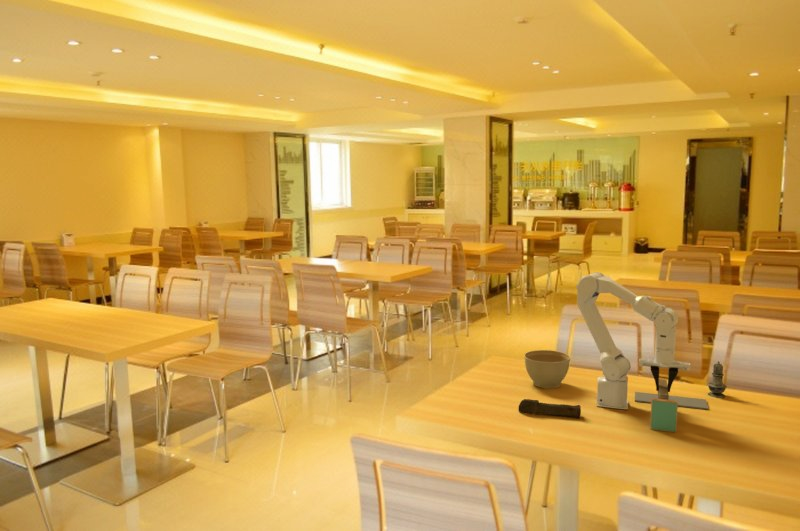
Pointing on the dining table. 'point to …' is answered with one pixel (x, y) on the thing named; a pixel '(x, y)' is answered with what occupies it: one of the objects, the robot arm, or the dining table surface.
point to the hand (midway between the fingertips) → (662, 390)
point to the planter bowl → (547, 367)
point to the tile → (663, 415)
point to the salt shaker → (717, 382)
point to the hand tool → (549, 408)
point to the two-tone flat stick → (663, 390)
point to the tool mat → (681, 400)
